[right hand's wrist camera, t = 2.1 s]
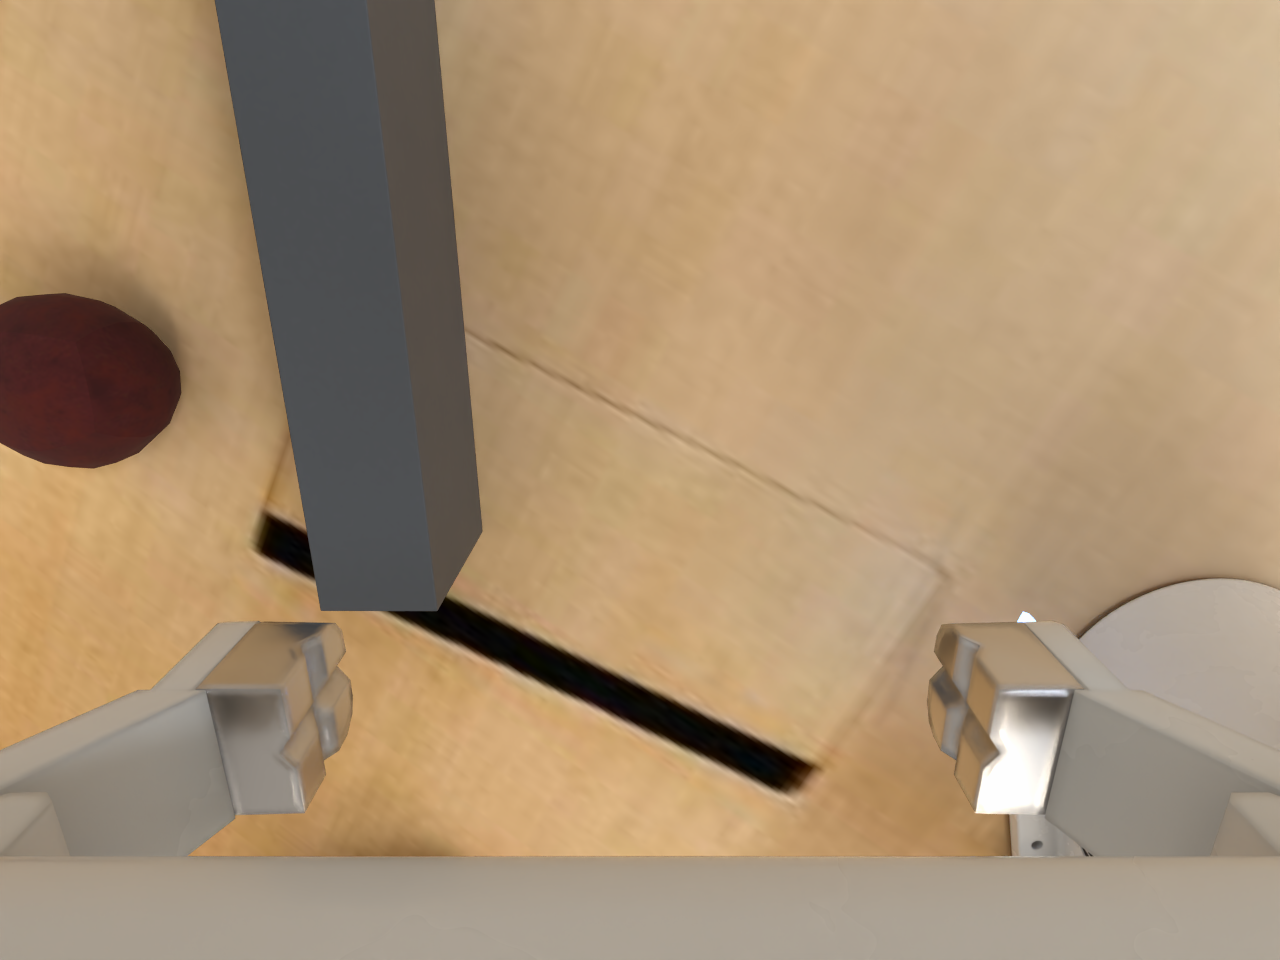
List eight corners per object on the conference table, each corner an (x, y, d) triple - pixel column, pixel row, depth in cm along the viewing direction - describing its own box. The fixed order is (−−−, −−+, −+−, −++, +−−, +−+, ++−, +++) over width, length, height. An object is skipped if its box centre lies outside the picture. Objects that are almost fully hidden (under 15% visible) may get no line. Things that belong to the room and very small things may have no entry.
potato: (26, 288, 34) (-128, 306, 28) (193, 282, 34) (78, 299, 27) (72, 444, 37) (-59, 496, 30) (228, 440, 36) (131, 491, 30)
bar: (482, 531, 38) (437, 611, 30) (388, 532, 38) (320, 611, 30) (424, -113, 29) (340, -228, 21) (302, -110, 29) (175, -223, 22)
